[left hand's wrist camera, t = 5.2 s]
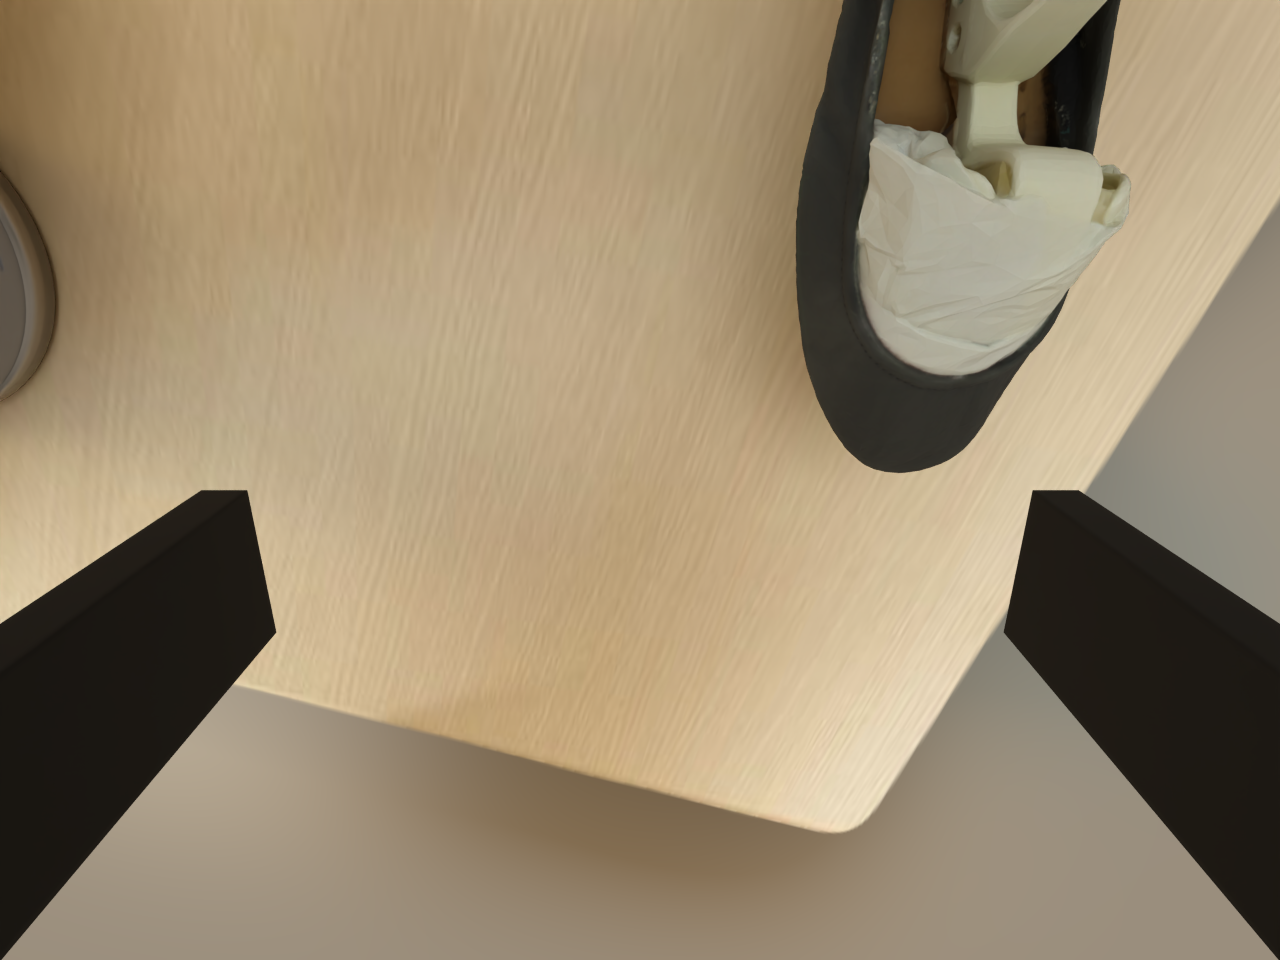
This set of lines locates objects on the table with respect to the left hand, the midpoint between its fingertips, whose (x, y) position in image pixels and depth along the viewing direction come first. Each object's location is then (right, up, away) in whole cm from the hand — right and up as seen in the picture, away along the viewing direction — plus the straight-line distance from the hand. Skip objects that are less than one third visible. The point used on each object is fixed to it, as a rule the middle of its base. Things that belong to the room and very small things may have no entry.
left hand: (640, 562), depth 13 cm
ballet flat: (+9, +13, +11) cm, 19 cm away
